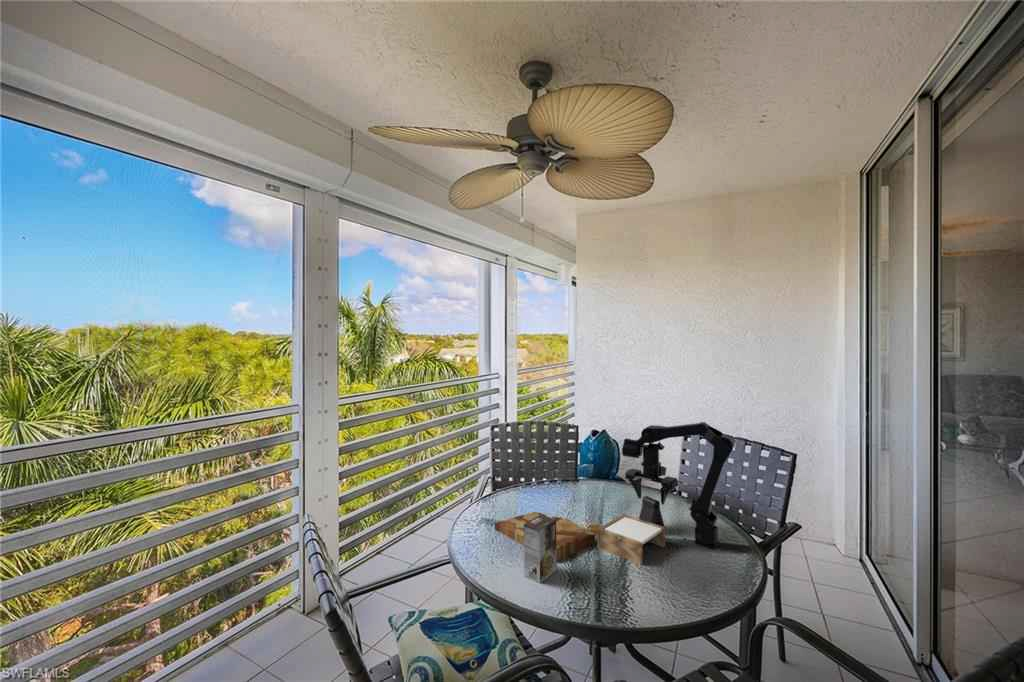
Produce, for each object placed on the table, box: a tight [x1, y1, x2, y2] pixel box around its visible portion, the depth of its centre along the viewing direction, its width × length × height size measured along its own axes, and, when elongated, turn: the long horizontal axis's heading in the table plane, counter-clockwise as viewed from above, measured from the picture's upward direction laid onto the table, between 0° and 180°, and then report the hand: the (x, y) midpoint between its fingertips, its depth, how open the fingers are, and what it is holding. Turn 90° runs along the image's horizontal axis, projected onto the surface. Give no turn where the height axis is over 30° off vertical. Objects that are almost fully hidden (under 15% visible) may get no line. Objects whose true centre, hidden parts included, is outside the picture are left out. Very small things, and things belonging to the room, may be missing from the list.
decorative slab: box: [494, 511, 596, 562], centre depth 159 cm, size 32×22×5 cm
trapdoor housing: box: [596, 514, 666, 566], centre depth 151 cm, size 16×18×6 cm
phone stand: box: [638, 495, 666, 532], centre depth 164 cm, size 9×6×12 cm, turn 117°
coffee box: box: [523, 515, 558, 584], centre depth 134 cm, size 9×6×16 cm
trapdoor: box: [604, 517, 662, 546], centre depth 150 cm, size 14×14×3 cm
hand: (651, 501), depth 164 cm, fingers open, 9 cm apart
